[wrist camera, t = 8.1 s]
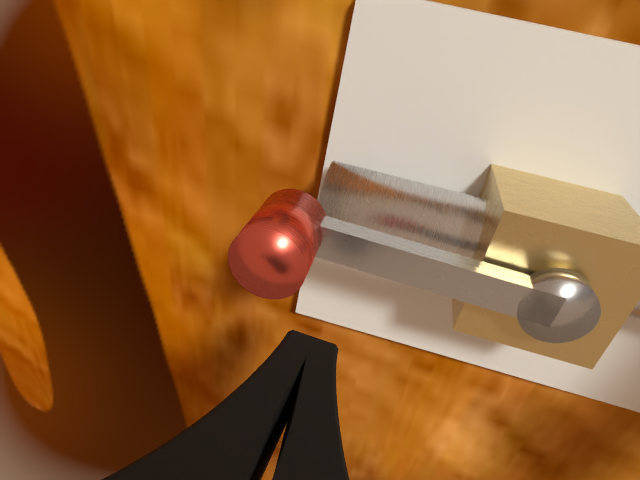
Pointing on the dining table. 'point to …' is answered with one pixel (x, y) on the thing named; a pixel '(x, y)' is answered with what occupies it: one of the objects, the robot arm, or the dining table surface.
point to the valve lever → (403, 268)
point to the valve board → (479, 157)
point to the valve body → (508, 241)
